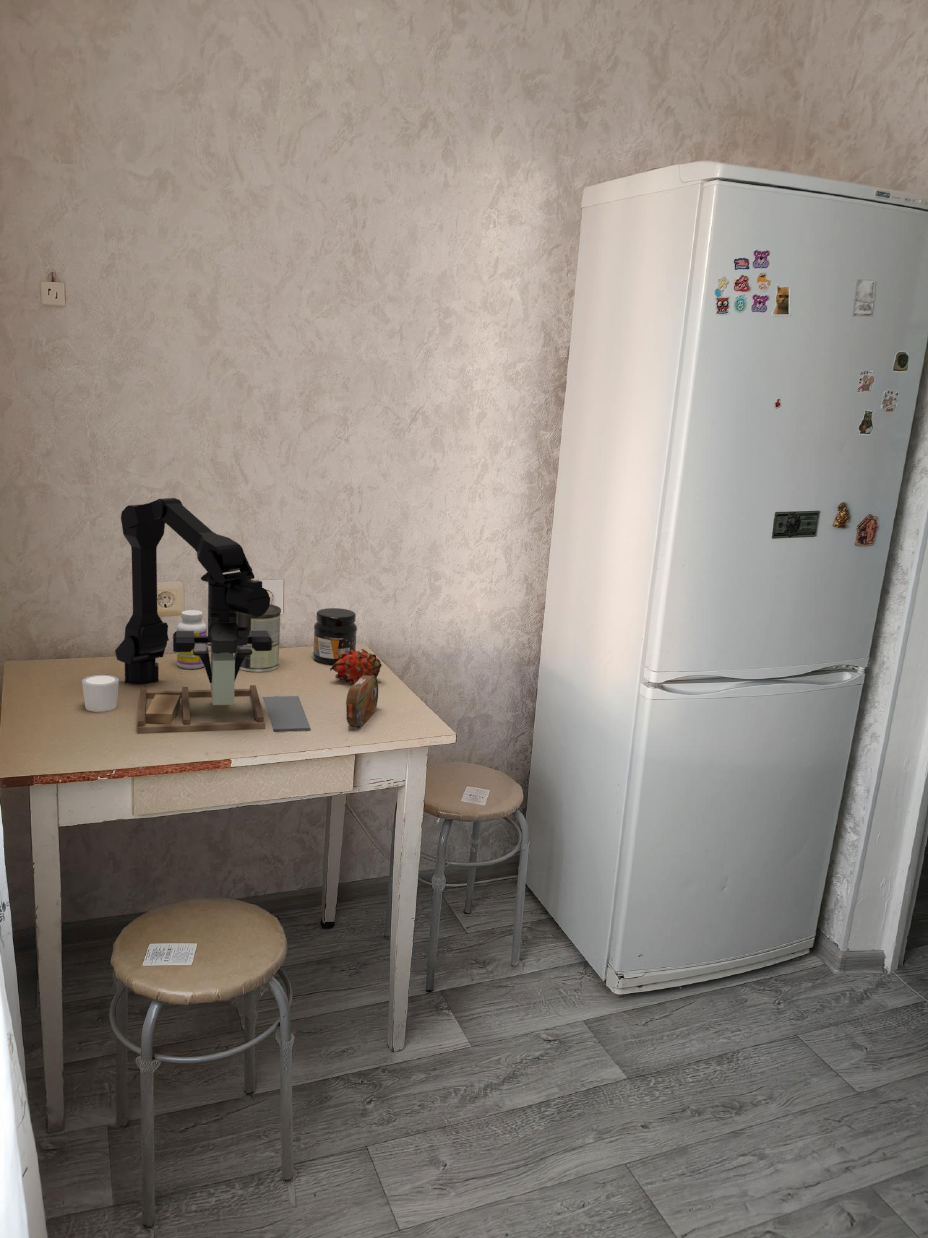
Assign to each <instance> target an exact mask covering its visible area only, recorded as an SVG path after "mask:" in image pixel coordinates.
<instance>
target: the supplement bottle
mask: <svg viewBox="0 0 928 1238" xmlns="http://www.w3.org/2000/svg"><path fill="white" fill-rule="evenodd" d="M203 615H204V614H203V612H202V611H201V610H197V609H188V610H187V609H186V610H182V611H181V615H180V617H181V620H182V621H181V622H178V624H177V626H176V631H194V636H208V625H206V623H205V622H204V621H203V620H202V619H203ZM176 664H177V666H178V667H180V668H182V669H188V670H195V669H201V668H205V667H204V664H203V662H202V660H201V659H200V657H199V656H195V655H193V650H192V651H191V652H176Z"/></svg>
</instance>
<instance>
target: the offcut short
mask: <svg viewBox="0 0 928 1238" xmlns="http://www.w3.org/2000/svg"><path fill="white" fill-rule="evenodd" d="M180 706H181V698H180V695H155V696H154V698H153V699H152V700H151V702H150V705H149V706H148V708H147V709H146V716H145V724H146V723H152V724H172V722H173V720H174V717H175V715H176V716H177V713H178V710H179V708H180ZM175 718H176V717H175ZM174 721H175V720H174Z"/></svg>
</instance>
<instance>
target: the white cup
mask: <svg viewBox="0 0 928 1238" xmlns="http://www.w3.org/2000/svg"><path fill="white" fill-rule="evenodd" d="M119 681H120V679H119V677H117V676H114V675H109V674H97V675H96V674H95V675H90V676H86V677H84V678H82V680H81V684H82V693H83V700H84V708H85V710H87V711H90V712H95V713H104V712H110V711H112V710H115V709H116V708H117V705H118V695H119V683H120V682H119Z"/></svg>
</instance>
